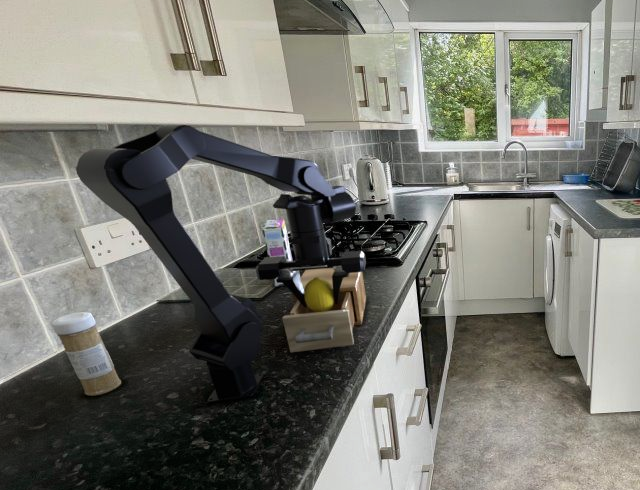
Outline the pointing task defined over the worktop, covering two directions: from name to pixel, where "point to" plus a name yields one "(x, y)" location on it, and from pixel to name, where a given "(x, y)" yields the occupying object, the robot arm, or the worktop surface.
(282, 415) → the worktop surface
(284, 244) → the candy bar box
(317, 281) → the lemon
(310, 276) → the cabinet
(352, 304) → the drawer
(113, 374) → the sprinkles bottle
